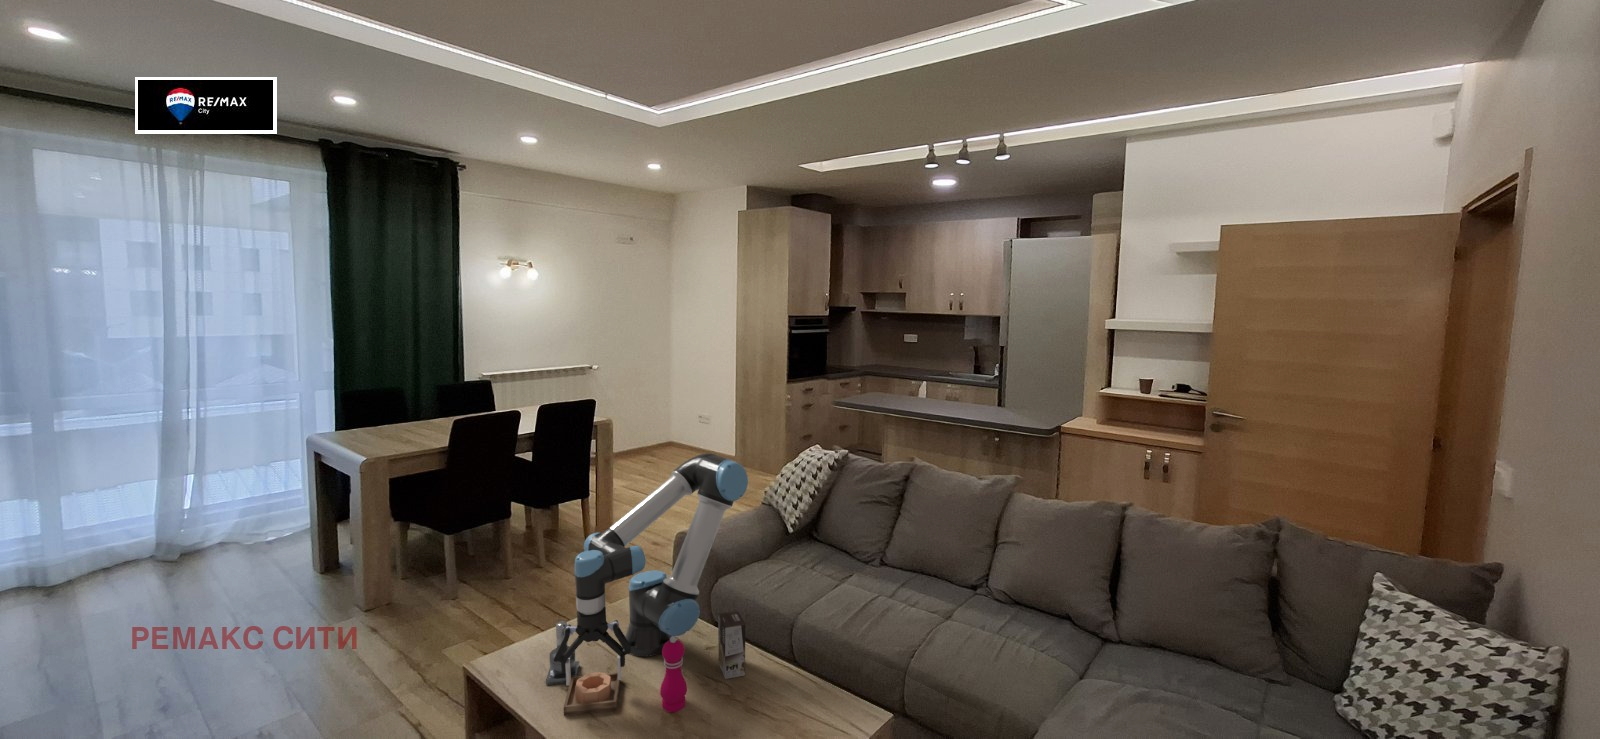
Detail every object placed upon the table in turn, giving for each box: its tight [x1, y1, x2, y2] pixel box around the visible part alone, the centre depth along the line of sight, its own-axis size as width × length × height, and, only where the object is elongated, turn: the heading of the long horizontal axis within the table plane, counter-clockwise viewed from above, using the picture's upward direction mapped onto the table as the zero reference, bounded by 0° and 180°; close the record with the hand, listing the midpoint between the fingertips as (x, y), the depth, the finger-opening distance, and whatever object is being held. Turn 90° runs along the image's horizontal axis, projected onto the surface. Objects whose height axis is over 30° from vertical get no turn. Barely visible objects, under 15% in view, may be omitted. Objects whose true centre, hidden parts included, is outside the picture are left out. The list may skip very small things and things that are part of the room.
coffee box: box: [717, 610, 746, 680], centre depth 189 cm, size 9×6×16 cm
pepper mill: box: [659, 636, 688, 713], centre depth 172 cm, size 7×7×20 cm
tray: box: [563, 671, 621, 716], centre depth 176 cm, size 13×13×2 cm
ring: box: [575, 671, 611, 704], centre depth 176 cm, size 9×9×4 cm
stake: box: [545, 620, 580, 686], centre depth 185 cm, size 8×8×16 cm
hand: (594, 679), depth 176 cm, fingers open, 13 cm apart
